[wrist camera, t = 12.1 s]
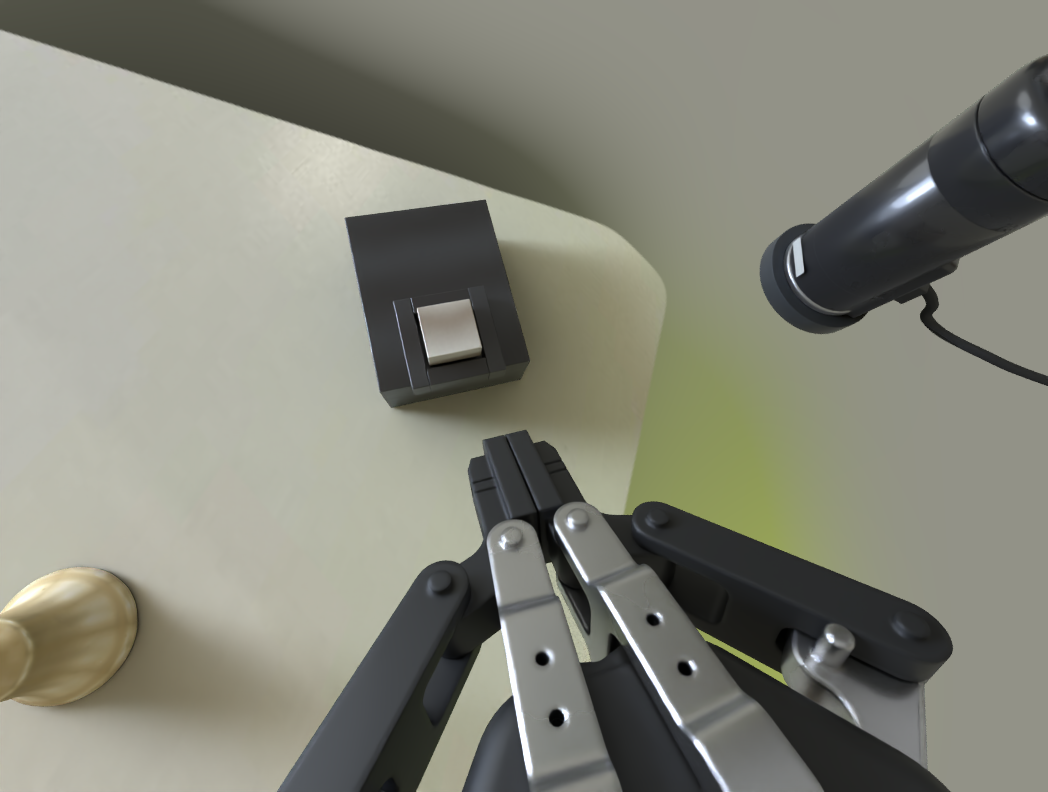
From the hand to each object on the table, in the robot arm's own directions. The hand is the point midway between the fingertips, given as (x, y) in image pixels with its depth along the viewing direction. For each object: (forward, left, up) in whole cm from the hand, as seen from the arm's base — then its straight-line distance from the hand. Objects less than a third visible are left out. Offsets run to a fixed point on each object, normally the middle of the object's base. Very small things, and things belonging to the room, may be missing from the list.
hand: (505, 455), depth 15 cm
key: (+7, -7, -14) cm, 17 cm away
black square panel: (+10, -11, -21) cm, 25 cm away
